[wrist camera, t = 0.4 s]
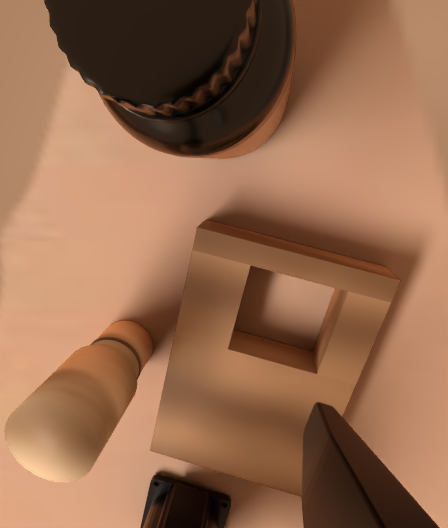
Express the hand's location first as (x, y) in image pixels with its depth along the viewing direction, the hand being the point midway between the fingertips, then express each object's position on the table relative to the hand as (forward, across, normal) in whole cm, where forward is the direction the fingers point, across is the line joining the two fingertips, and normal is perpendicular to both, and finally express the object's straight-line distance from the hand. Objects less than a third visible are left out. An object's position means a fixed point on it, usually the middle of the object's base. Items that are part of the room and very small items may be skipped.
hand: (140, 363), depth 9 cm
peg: (+13, +4, +8) cm, 16 cm away
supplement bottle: (+13, +2, -9) cm, 16 cm away
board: (+13, -4, +6) cm, 15 cm away
